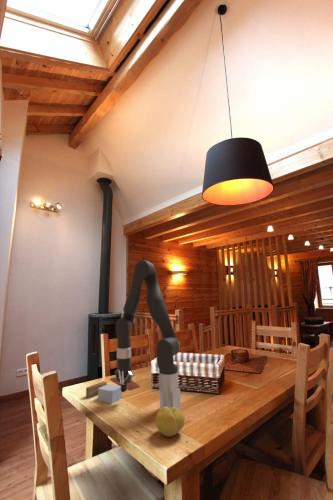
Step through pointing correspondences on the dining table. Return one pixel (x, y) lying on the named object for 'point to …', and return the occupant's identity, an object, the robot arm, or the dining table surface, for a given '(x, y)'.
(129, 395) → the dining table surface
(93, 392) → the walnut board
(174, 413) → the fruit
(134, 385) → the wooden tablet
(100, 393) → the slate brick
